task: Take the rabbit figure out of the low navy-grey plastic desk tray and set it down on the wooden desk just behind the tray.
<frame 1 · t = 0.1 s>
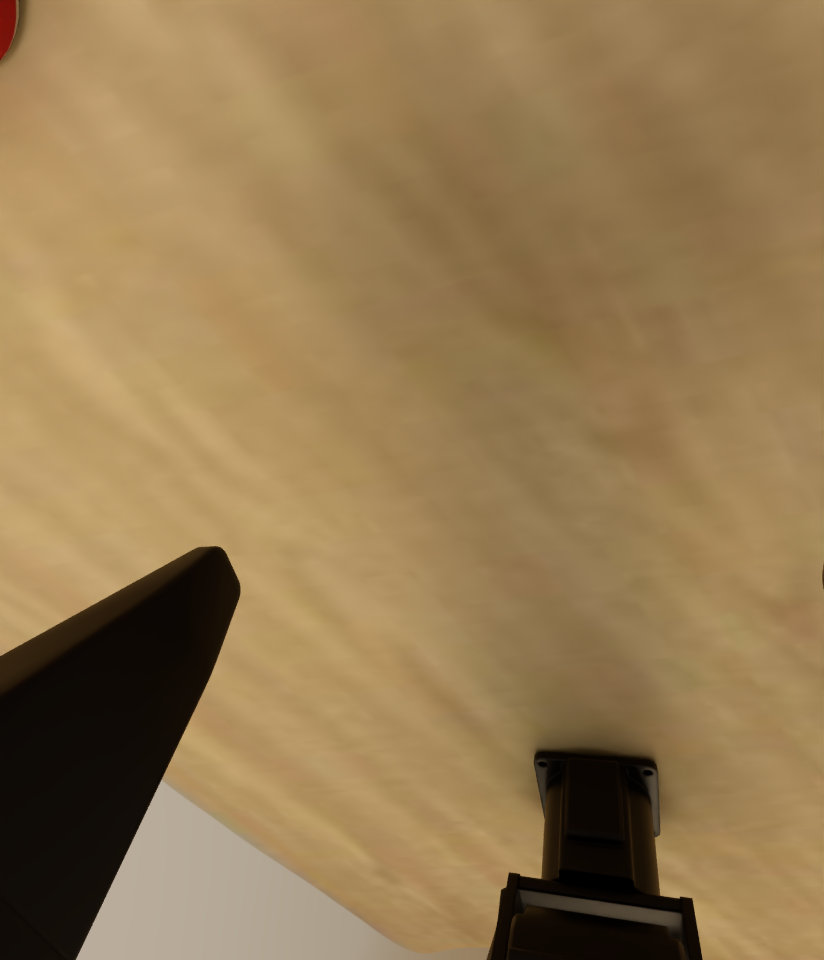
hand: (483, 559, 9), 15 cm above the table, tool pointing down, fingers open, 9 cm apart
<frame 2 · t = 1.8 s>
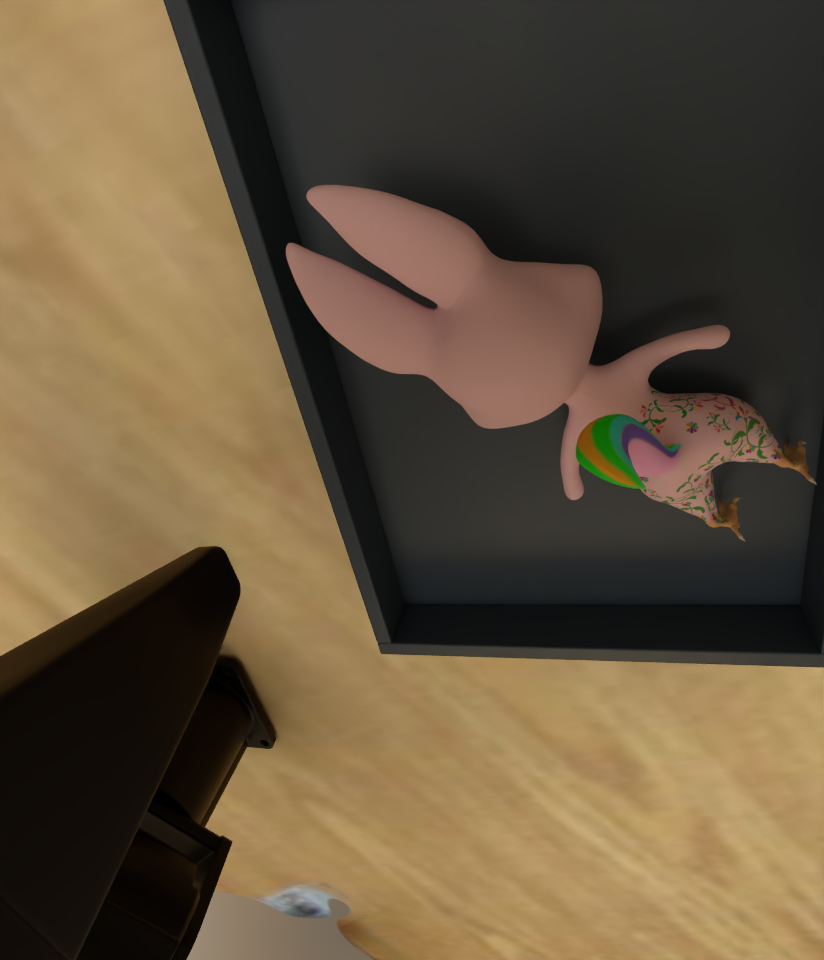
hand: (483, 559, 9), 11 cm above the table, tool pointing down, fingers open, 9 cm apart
desk tray: (557, 342, 18), on the table
rabbit figure: (557, 344, 18), resting on desk tray
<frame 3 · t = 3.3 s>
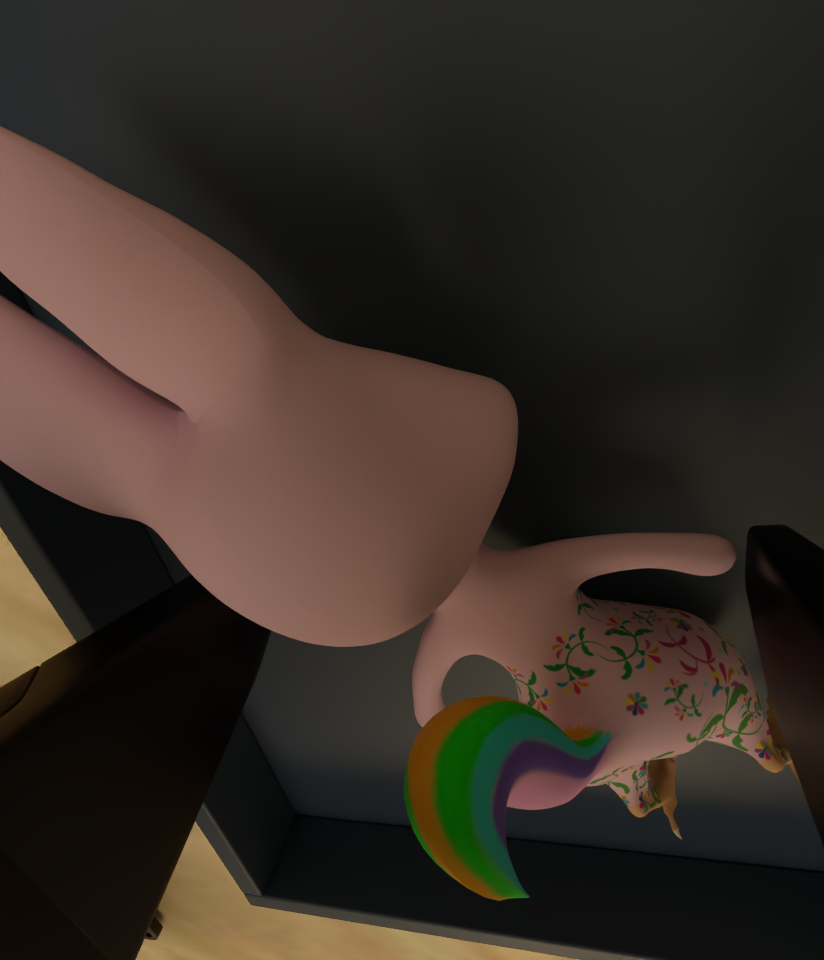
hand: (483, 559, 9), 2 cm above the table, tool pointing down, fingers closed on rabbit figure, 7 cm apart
desk tray: (480, 497, 11), on the table
rabbit figure: (440, 473, 10), resting on desk tray, touching gripper
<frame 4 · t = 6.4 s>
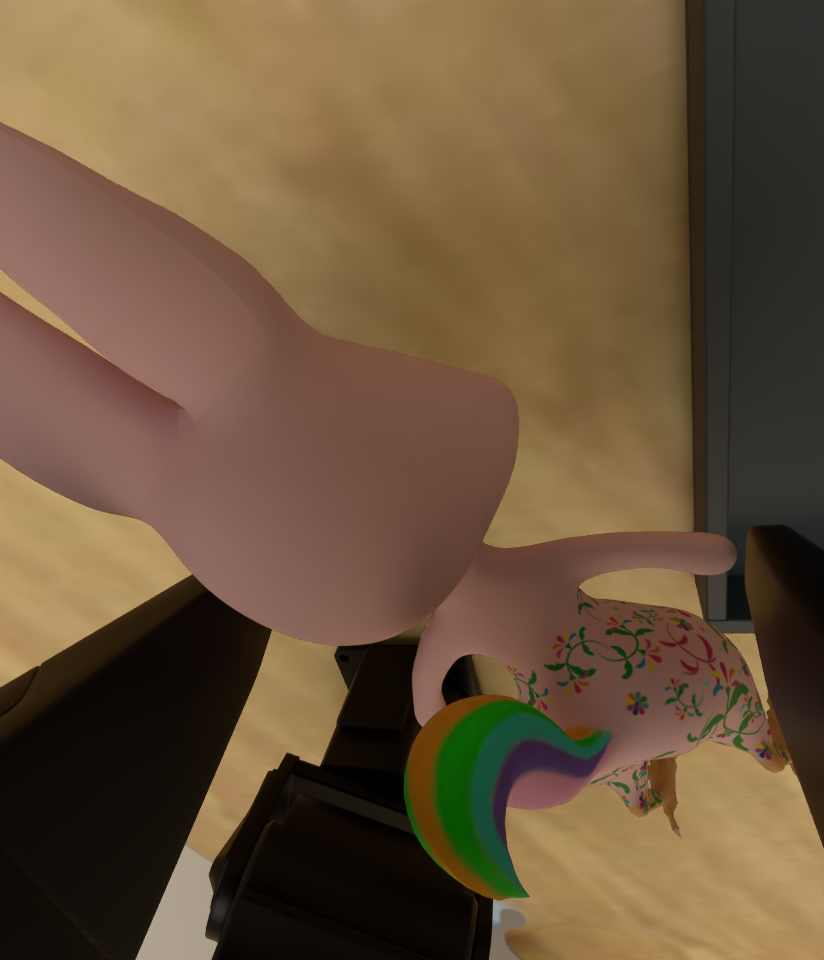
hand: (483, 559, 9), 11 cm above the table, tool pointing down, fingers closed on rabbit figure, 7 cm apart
rabbit figure: (440, 472, 10), point 10 cm above the table, touching gripper
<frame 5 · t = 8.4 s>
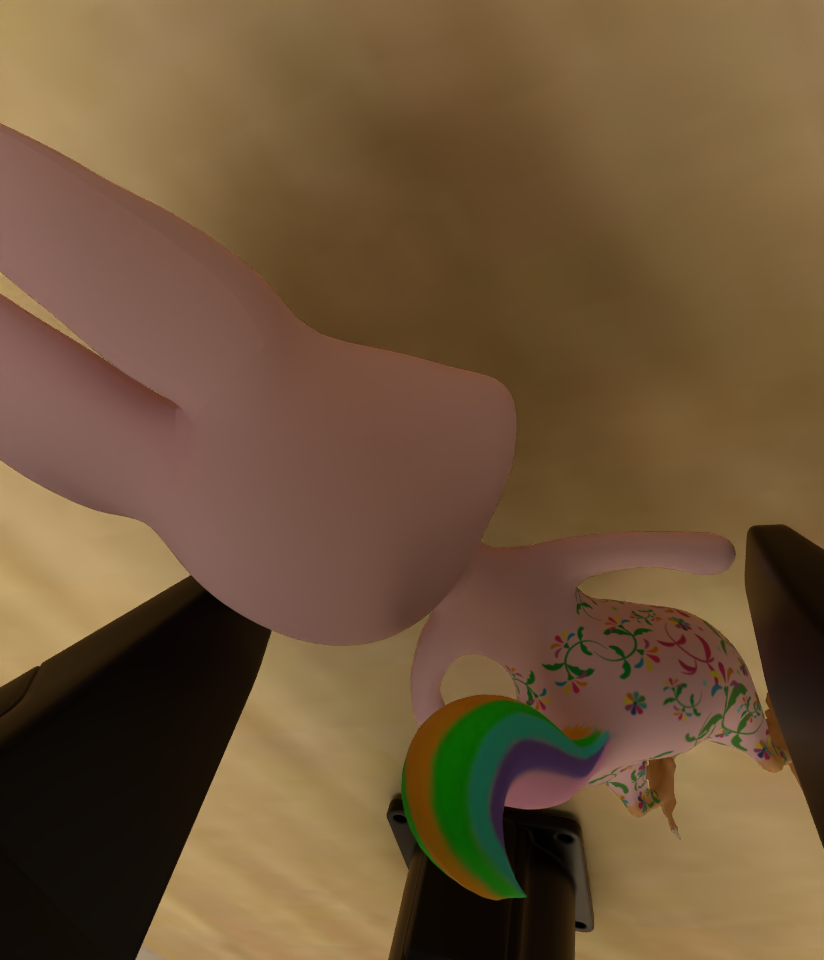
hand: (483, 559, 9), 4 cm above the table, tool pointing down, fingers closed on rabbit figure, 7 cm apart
rabbit figure: (439, 472, 10), point 3 cm above the table, touching gripper
when the fingers open (1 cm above the table, at t = 9.8 s): rabbit figure stays where it is, on the table.
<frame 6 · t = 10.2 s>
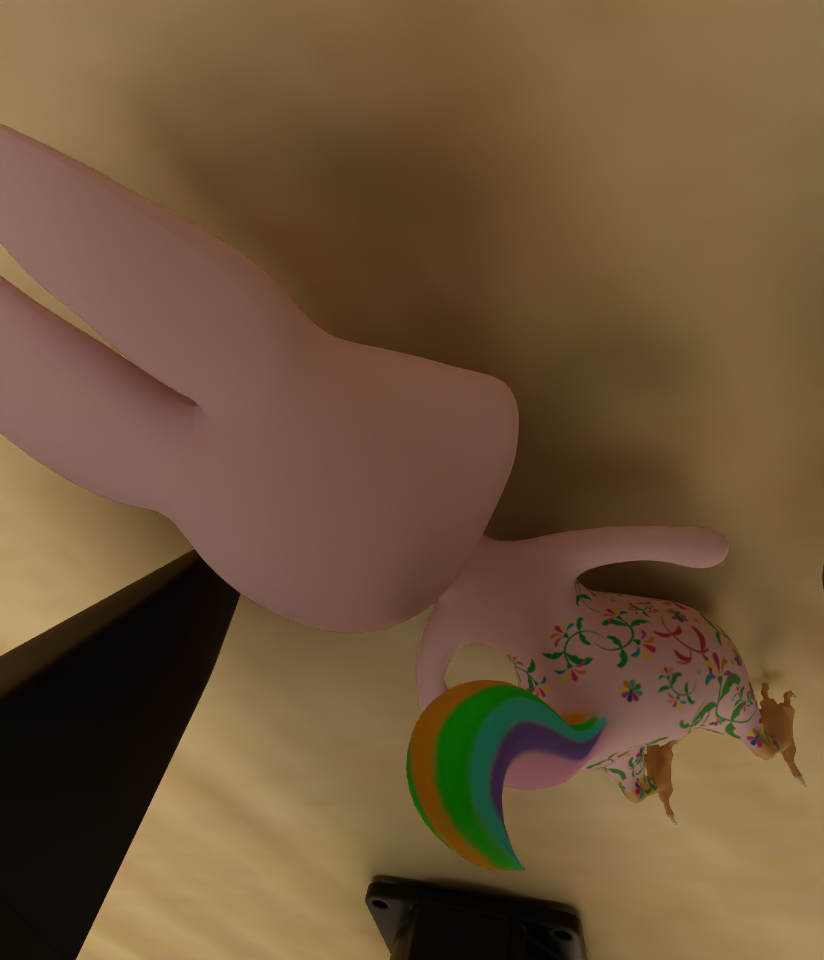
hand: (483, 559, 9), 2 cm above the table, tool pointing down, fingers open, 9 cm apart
rabbit figure: (444, 467, 11), on the table
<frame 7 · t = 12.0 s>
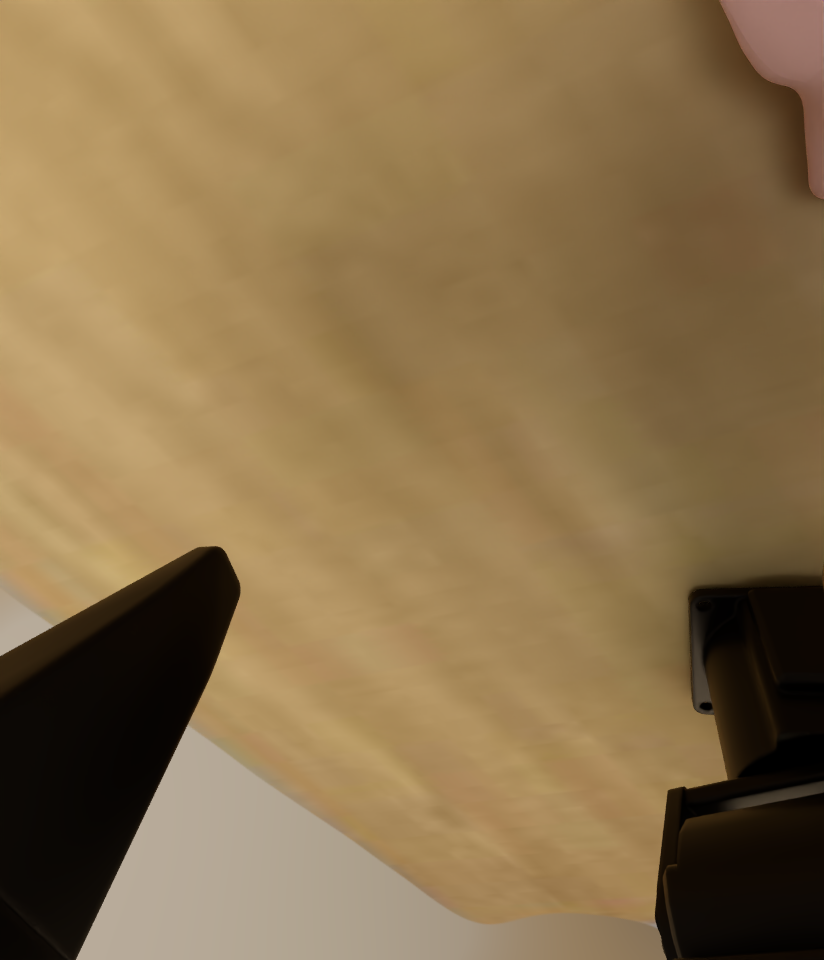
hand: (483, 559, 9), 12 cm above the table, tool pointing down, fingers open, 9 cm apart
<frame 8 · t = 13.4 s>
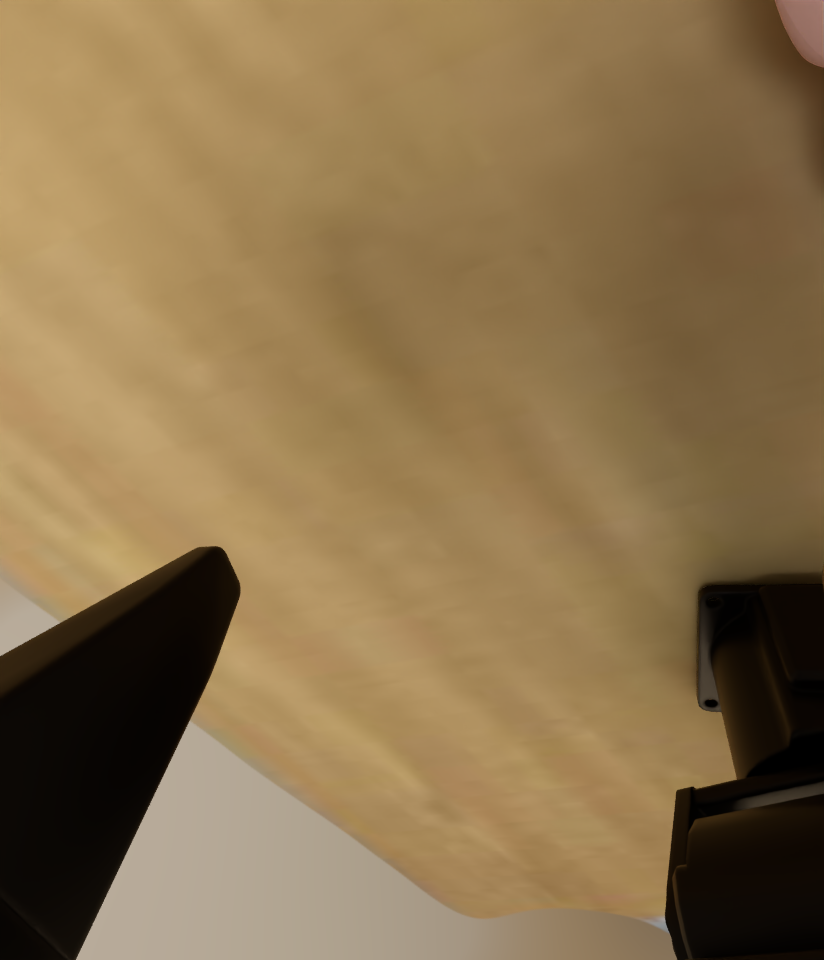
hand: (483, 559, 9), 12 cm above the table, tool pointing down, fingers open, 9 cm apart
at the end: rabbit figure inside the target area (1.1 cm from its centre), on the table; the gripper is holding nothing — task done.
